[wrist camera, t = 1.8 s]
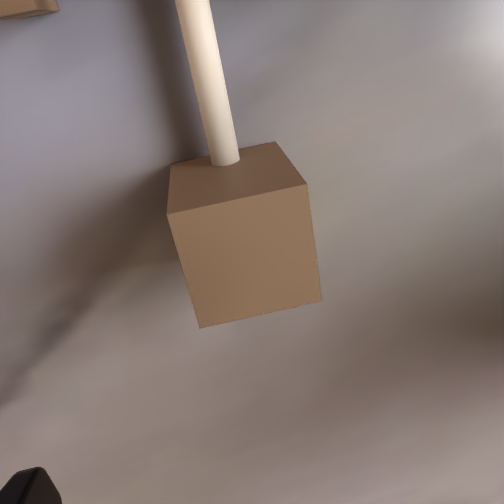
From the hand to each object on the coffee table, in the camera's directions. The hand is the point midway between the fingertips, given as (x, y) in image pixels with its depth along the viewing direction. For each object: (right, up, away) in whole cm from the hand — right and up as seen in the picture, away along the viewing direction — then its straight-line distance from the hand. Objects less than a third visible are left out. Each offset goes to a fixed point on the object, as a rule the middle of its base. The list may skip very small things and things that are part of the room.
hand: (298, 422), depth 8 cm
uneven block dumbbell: (-3, +11, +7) cm, 13 cm away
